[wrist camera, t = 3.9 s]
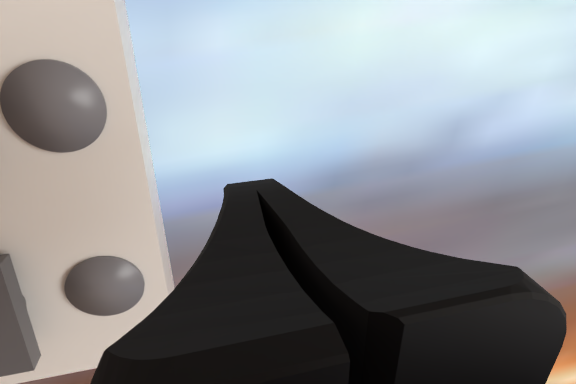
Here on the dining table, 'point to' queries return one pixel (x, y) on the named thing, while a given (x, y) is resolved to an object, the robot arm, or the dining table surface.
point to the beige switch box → (77, 180)
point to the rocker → (15, 325)
